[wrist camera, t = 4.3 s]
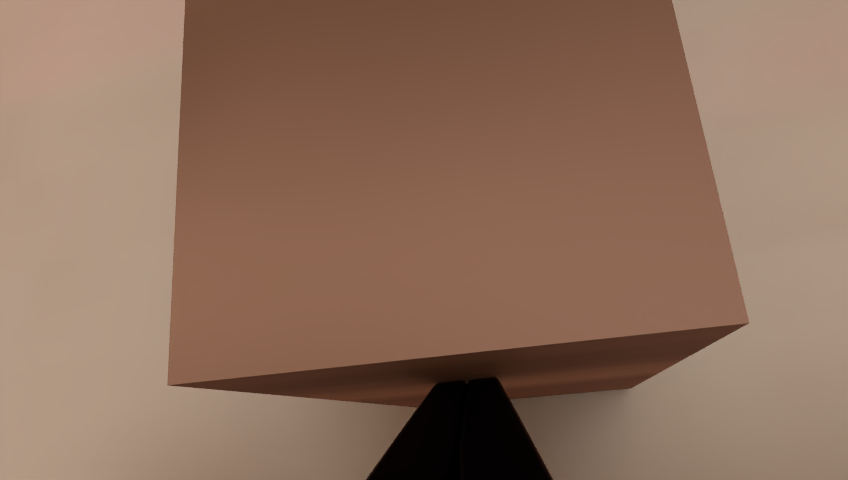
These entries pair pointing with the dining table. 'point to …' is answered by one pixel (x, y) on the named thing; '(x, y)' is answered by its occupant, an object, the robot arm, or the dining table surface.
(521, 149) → the brown patterned block
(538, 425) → the dining table surface
